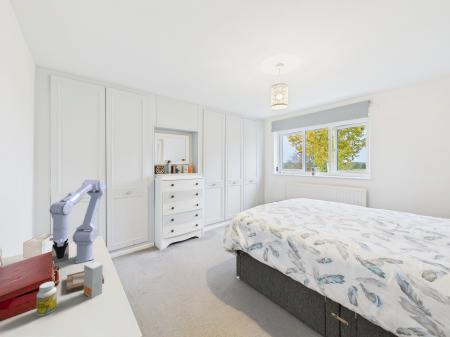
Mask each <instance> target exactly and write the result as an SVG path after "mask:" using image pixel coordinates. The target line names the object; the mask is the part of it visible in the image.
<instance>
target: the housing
mask: <svg viewBox="0 0 450 337" xmlns="http://www.w3.org/2000/svg"><path fill="white" fill-rule="evenodd" d="M67 243H68V245H67V247H66V249H65V253H64V257H63V258H62V259H57V256H56V252H55V250H54V248H53V247H52V246H51V261H52V260H53V261H54V264H60V263H63V262H68V261H69V256H70V255H69V254H70V243H69V242H67ZM54 264H53V265H54Z"/></svg>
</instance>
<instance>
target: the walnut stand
mask: <svg viewBox="0 0 450 337" xmlns="http://www.w3.org/2000/svg"><path fill="white" fill-rule="evenodd" d="M103 274H104V273H102V285H103V284H105V277H104V275H103ZM82 290H84V270H83V271H80V272H79V271H78V272H74V273H70V274H67V275H66V295H68V294H71V293H74V292H76V293H77V292H79V291H82Z"/></svg>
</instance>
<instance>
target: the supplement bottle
mask: <svg viewBox="0 0 450 337" xmlns="http://www.w3.org/2000/svg"><path fill="white" fill-rule="evenodd" d="M38 289H39V290H38V292H37V293H36V315H37V316H39V317H43V316H47V315H49V314H52V313H53V312H54V311H55V310H56V309H57V306H58V298H57V297H58V289H57V287H56V286H55V282H54V281H46V282H43V283H42V284H40V285H39V288H38Z"/></svg>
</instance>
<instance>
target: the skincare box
mask: <svg viewBox="0 0 450 337" xmlns="http://www.w3.org/2000/svg"><path fill="white" fill-rule="evenodd" d="M83 267H84V268H83V271H84V289H83V294H84V295H85V296H87V297H89V298H91V299H94V298H95V297H96V298H97V296H99V295H102V294H103V284H102V274H103V267H104V266H103V264H102V263H100V262H98V261H96V260H94V261H90V262H87V263H86V264H84V265H83Z"/></svg>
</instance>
